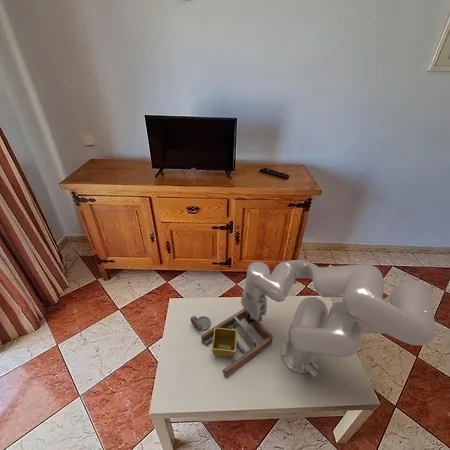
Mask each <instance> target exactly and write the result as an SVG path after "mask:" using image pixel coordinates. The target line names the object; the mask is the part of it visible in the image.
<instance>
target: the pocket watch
mask: <svg viewBox="0 0 450 450" xmlns="http://www.w3.org/2000/svg"><path fill="white" fill-rule="evenodd" d="M189 320H190V322H191V325H192V326H193V328H194V329H195V330H196V331H198V332H203V331H206V330H207V331H208V329H210V328H211V324H212V323H211V318H209V317H208V316H204V315H203V316H199V317H197V316H196V314H193V315H192V316H191V317H190V319H189Z"/></svg>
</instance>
